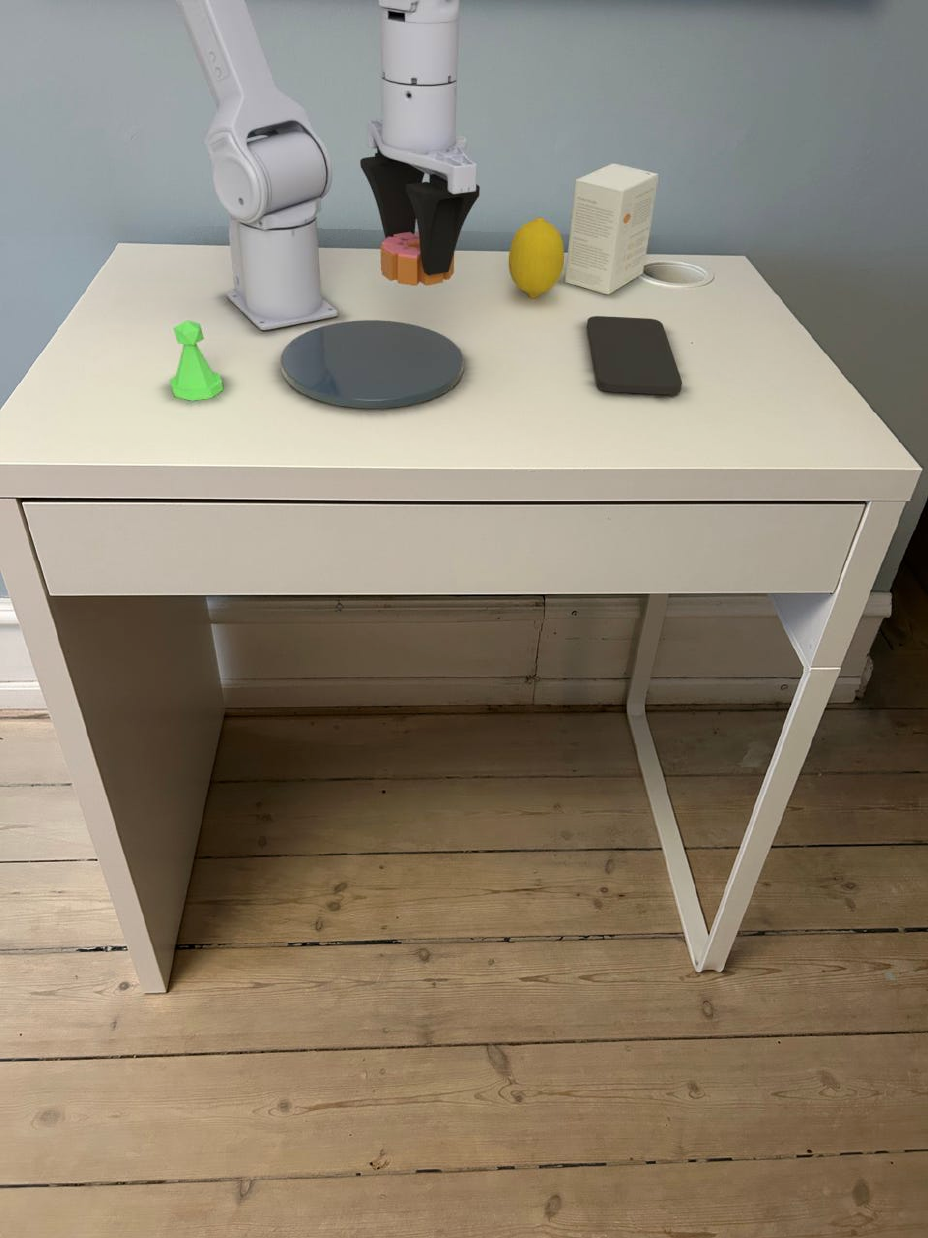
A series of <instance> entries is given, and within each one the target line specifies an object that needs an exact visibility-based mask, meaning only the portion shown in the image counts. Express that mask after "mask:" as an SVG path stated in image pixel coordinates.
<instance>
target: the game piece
mask: <svg viewBox="0 0 928 1238" xmlns="http://www.w3.org/2000/svg"><path fill="white" fill-rule="evenodd" d="M173 331H174V334H175V338H176V343H177V344H180V345H183V347H182V350H181V355H180V358H179V362H178V365H177V370H176V374H175V375H174V376H173V377H172V378H170V380H169V381H170V387H171V390H172V393H173V394H174V397H175V398H178V399H183V400H187V401H191V402H194V401H201V400H207V399H213V398H214V397H216V396H217V395H219V394H220V393H221V392H222V391H224V386H223V379H222V377H221V376H220V374H219V372H216V371H213V370H212V369H211V367H210V365H209V364H208V362H207V360H206V359H205V356H204V355H203V352H202V351H201V349H200V347H199V346H198V343H200V342H201V341H203V340H205V338H204V333H203V330H202V327H201V324H200V323H198V322H194V321H191V320H185V321H183V322H181V323H179V324H178V325H176V326H175V327H173Z"/></svg>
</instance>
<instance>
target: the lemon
mask: <svg viewBox="0 0 928 1238" xmlns="http://www.w3.org/2000/svg"><path fill="white" fill-rule="evenodd" d="M508 252H509V253H508V270H509V274H510V277H511V279H512V282H513V283H514V285H515V286H516V287H517V288H518V289H519V290H521V291H522V292H524V293H526V294H527V295H528V297H529V298H531V299H536V298H537V297H538V296H540V295H541V294H543V293H546V292H548V291H549V290H551V289H552V288H553V287H554V286H555V285H556V284H557V283H558V281H559V279H560V277H561V275H562V273H563V269H564V264H565V249H564V241H563V237H562V235H561V233H560V231H559V230H558V229H557V228H556V227H555V226H554V225H553V224H552V223H550V222H548V221H546V220H545V219H544V217H541V216H538V217H535V218H534V220H530V221H528V222H526V223H524V224H523V225H521V227H519V228H518V229H517V230H516V232H515V234H514V235H513V238H512V241H511V244H510V248H509V251H508Z"/></svg>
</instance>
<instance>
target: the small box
mask: <svg viewBox="0 0 928 1238" xmlns="http://www.w3.org/2000/svg"><path fill="white" fill-rule="evenodd" d="M659 177H660V175H659V173H656V172H652V171H648V170H644V169H640V168H635V167H631V166H627V165H623V164H618V163H613V162H612V163H610V164H608V165H606V166H603V167H601V168H599V169H597V170H594V171H591V172H590V173H587V174H584V175H583V176H581V177H579V178H576V179H575V181H574V189H573V190H574V191H573V201H572V209H571V218H570V219H571V220H570V230H569V237H568V239H569V240H568V247H567V248H568V249H567V257H566V267H565V268H566V269H565V277H564V282H565V283H566V284H570V285H573V286H577V287H581V288H583V289H588V290H591V291H594V292H597V293H600V294H604V295H610V294H612V293H614V292H615V291H617V290H619V289H620V288H621V287H624V286H625V285H626V284H628V283H630V282H632V281H633V280H635V279H637V278H638V277H640V276H641V275H642V274H644V270H645V269H644V268H645V264H646V263H645V262H646V257H647V253H648V245H649V240H650V239H649V238H650V233H651V228H652V227H651V226H652V220H653V213H654V207H655V201H656V195H657V189H658V183H659V182H658V181H659Z"/></svg>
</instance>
